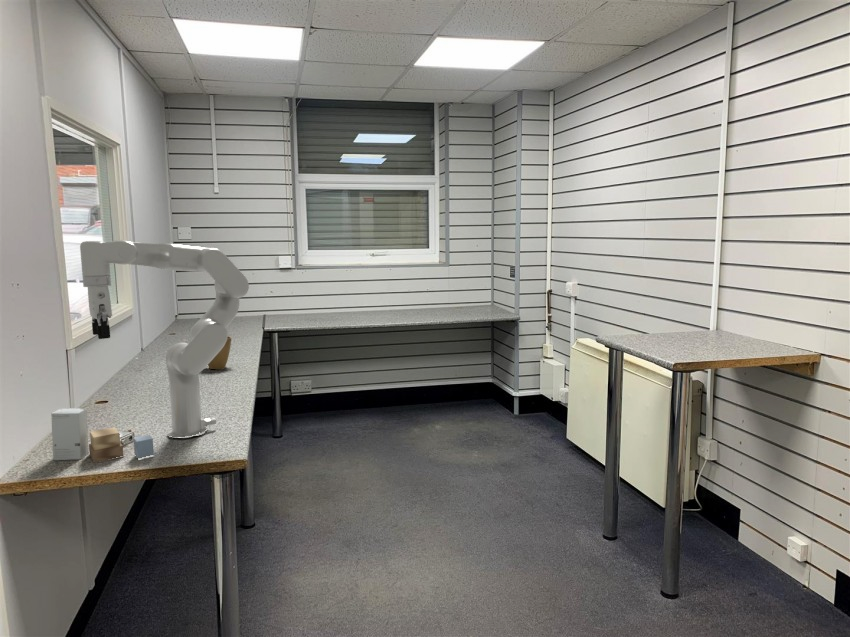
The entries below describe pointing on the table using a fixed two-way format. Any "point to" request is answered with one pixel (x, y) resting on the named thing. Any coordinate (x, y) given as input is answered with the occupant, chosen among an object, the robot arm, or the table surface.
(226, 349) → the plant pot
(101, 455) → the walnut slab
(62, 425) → the skincare box
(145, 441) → the blue block
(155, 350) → the table surface
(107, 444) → the oak slab
